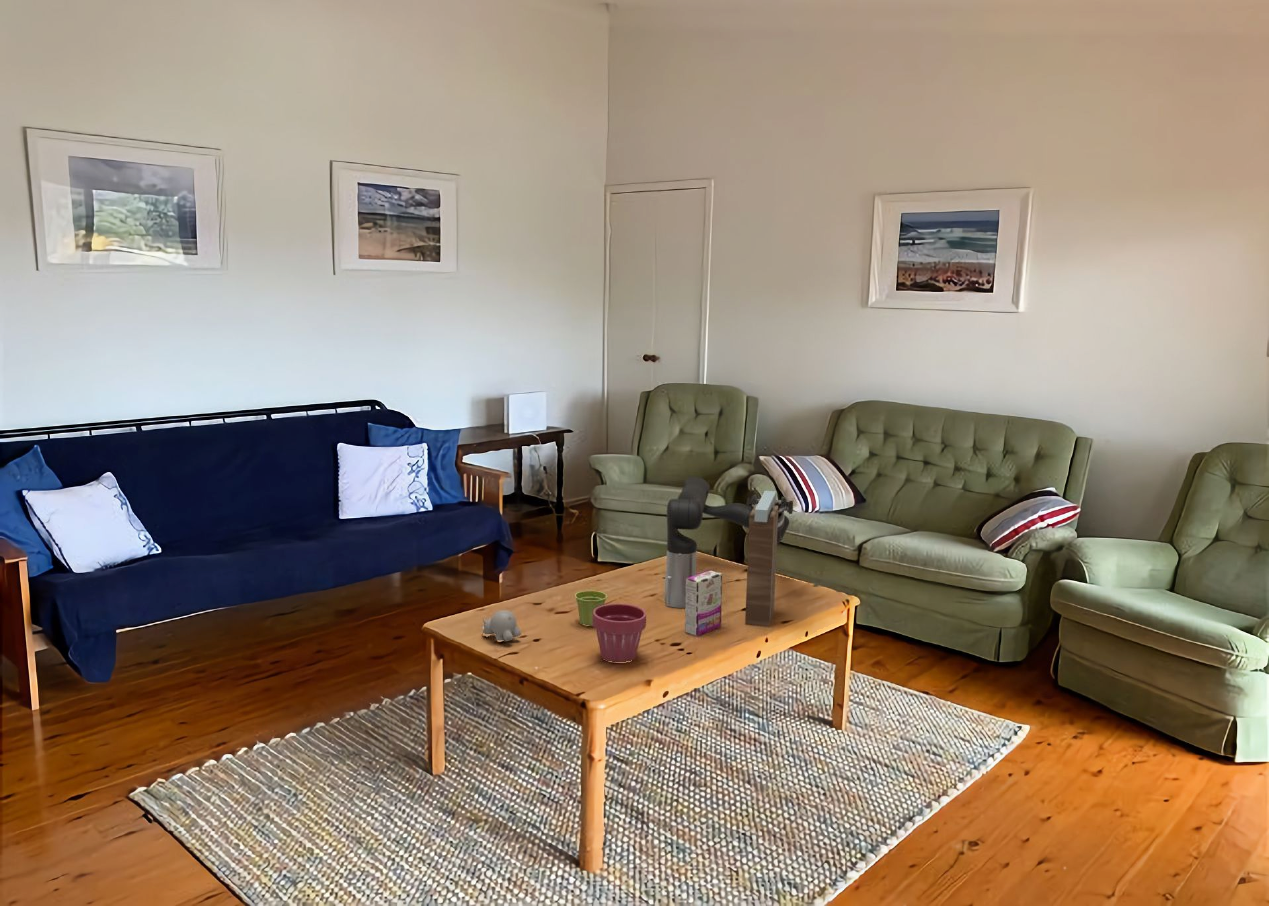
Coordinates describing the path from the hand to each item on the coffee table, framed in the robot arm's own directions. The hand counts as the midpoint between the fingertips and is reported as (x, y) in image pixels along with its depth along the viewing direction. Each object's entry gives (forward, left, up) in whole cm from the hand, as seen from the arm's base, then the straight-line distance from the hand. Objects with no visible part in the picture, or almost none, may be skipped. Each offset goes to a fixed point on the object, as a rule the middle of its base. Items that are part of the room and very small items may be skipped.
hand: (768, 498), depth 292 cm
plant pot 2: (-49, -39, -34) cm, 71 cm away
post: (-4, -11, -34) cm, 36 cm away
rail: (-3, -7, -2) cm, 8 cm away
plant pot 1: (-55, -13, -34) cm, 66 cm away
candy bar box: (-23, -20, -34) cm, 46 cm away
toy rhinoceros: (-81, -24, -34) cm, 91 cm away
